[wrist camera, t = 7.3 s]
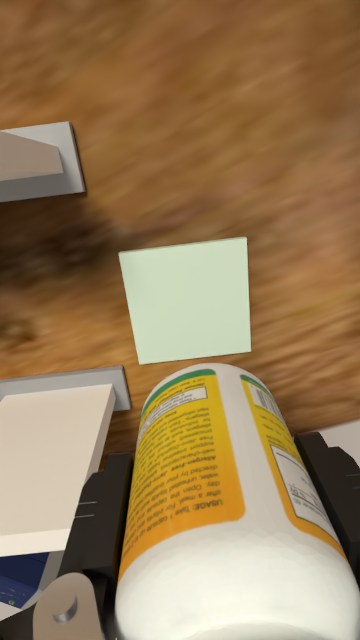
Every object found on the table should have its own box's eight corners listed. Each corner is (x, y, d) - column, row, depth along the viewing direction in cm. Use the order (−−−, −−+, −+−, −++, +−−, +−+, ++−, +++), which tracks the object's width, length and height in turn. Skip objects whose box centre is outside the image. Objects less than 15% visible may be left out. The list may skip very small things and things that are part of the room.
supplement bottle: (291, 370, 13) (563, 799, 4) (251, 473, 15) (371, 909, 6) (152, 346, 12) (107, 781, 3) (130, 456, 14) (64, 911, 5)
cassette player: (13, 434, 30) (-77, 581, 19) (26, 417, 29) (-61, 560, 18) (85, 469, 32) (40, 623, 21) (98, 454, 31) (59, 604, 20)
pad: (119, 251, 24) (118, 253, 23) (244, 236, 24) (246, 238, 23) (140, 360, 28) (139, 364, 27) (249, 348, 27) (251, 351, 27)
